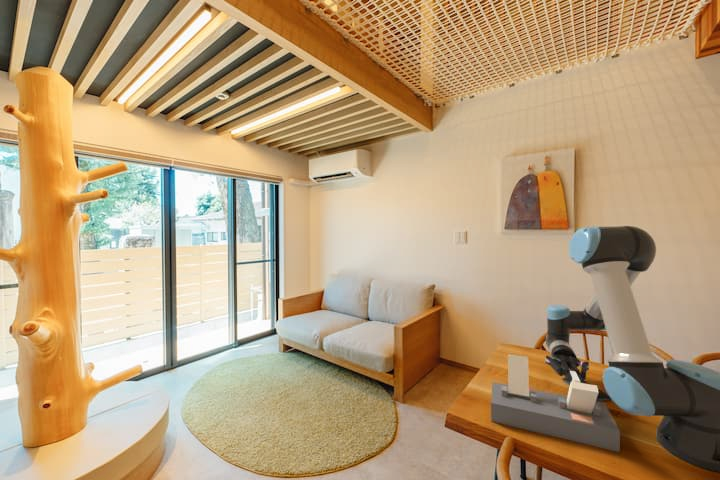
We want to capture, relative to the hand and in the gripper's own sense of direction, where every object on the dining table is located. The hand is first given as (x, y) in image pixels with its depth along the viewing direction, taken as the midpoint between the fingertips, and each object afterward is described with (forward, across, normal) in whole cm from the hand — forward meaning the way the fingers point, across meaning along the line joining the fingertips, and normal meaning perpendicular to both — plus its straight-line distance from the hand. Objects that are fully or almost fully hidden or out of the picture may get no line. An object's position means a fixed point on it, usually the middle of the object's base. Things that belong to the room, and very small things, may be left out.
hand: (577, 385), depth 90 cm
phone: (-26, -8, -14) cm, 31 cm away
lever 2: (+1, 0, -7) cm, 7 cm away
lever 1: (0, +16, -7) cm, 17 cm away
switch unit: (0, +8, -13) cm, 15 cm away
